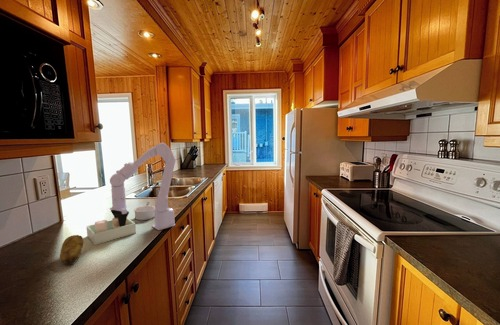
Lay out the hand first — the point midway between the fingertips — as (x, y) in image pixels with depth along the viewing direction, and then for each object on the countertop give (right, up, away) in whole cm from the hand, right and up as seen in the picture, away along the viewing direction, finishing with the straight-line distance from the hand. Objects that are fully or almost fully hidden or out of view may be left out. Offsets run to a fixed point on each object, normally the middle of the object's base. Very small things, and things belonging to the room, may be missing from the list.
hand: (120, 224), depth 112 cm
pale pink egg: (-6, -4, -5) cm, 9 cm away
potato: (-5, -7, -24) cm, 25 cm away
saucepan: (+1, -1, +25) cm, 25 cm away
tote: (-3, -4, -2) cm, 6 cm away
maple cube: (0, -2, 0) cm, 2 cm away
